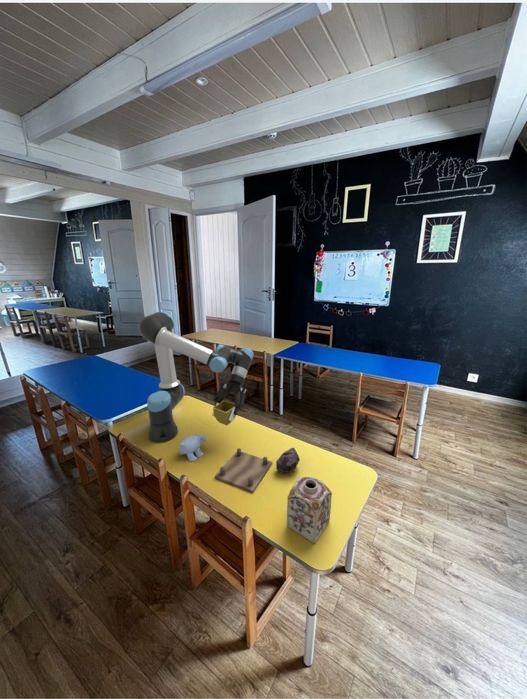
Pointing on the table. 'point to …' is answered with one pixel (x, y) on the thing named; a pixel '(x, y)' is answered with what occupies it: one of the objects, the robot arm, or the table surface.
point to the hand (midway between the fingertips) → (222, 418)
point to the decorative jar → (309, 507)
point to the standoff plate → (244, 470)
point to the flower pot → (223, 412)
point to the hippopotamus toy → (192, 446)
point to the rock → (287, 461)
